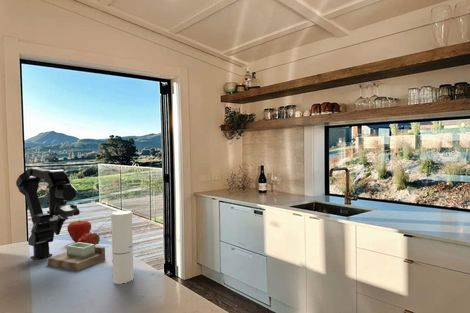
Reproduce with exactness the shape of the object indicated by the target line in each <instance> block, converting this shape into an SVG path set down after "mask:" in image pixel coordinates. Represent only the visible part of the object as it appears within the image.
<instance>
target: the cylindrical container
mask: <svg viewBox="0 0 470 313" xmlns="http://www.w3.org/2000/svg"><path fill="white" fill-rule="evenodd" d="M110 214H111V215H110V218H111V231H112V234H111V249H112V250H111V252H112V253H111V254H112V256H111V257H112V259H113V263H112V282H113V283H114V284H115V285H123V284H122V283H125V284H128V283H127V282H129V281H131V280H132V281H134V279H133V278H134V246H133V245H134V244H133V242H134V241H133V238H134V237H133V211H132V210H118V211H114V212H111V213H110ZM112 259H111V260H112ZM132 281H131V282H132ZM129 283H130V282H129Z"/></svg>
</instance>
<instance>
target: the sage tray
mask: <svg viewBox="0 0 470 313" xmlns="http://www.w3.org/2000/svg"><path fill="white" fill-rule="evenodd" d="M95 246H96V245H95V244H88V243H81V242H77V243H76V242H75V243H71V244H68V245H66V252H67V255H70V256H76V257H81V258H84V257H87V256H90V255H92V254H95Z"/></svg>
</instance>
